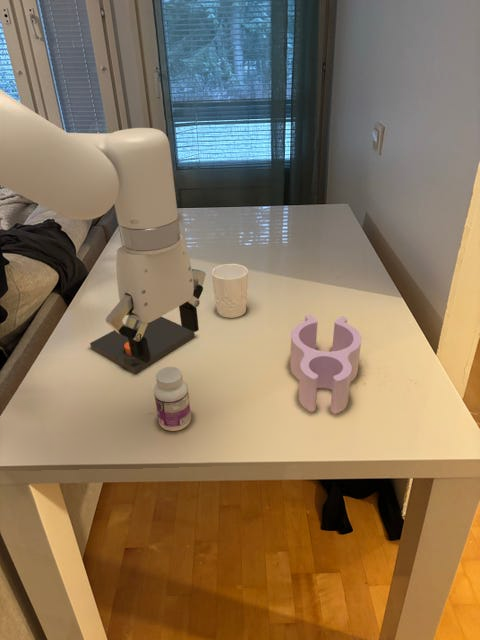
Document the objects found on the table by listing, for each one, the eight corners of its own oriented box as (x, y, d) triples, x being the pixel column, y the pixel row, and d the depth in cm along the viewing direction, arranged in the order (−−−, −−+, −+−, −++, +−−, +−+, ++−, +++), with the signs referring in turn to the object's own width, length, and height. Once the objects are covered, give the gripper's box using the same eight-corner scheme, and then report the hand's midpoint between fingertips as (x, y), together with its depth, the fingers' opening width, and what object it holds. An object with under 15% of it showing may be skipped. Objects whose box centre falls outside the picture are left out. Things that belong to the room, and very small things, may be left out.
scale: (133, 375, 87) (131, 362, 85) (89, 349, 95) (86, 337, 93) (195, 337, 98) (193, 324, 96) (150, 316, 105) (149, 305, 104)
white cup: (248, 319, 103) (247, 278, 98) (213, 319, 103) (210, 279, 98) (248, 302, 110) (248, 263, 105) (215, 302, 110) (213, 263, 105)
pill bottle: (156, 413, 78) (149, 367, 73) (188, 406, 79) (182, 360, 74) (161, 435, 74) (153, 388, 69) (194, 428, 75) (189, 381, 70)
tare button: (132, 357, 87) (131, 350, 87) (122, 352, 89) (120, 345, 88) (144, 350, 89) (143, 343, 89) (134, 345, 91) (133, 338, 90)
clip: (361, 416, 76) (366, 382, 72) (285, 409, 78) (286, 376, 74) (355, 347, 93) (359, 317, 89) (292, 343, 95) (293, 313, 91)
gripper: (178, 209, 67) (190, 311, 76) (75, 248, 56) (103, 362, 65) (217, 219, 63) (224, 325, 72) (113, 263, 52) (137, 383, 61)
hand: (166, 343), depth 69 cm, fingers open, 9 cm apart
